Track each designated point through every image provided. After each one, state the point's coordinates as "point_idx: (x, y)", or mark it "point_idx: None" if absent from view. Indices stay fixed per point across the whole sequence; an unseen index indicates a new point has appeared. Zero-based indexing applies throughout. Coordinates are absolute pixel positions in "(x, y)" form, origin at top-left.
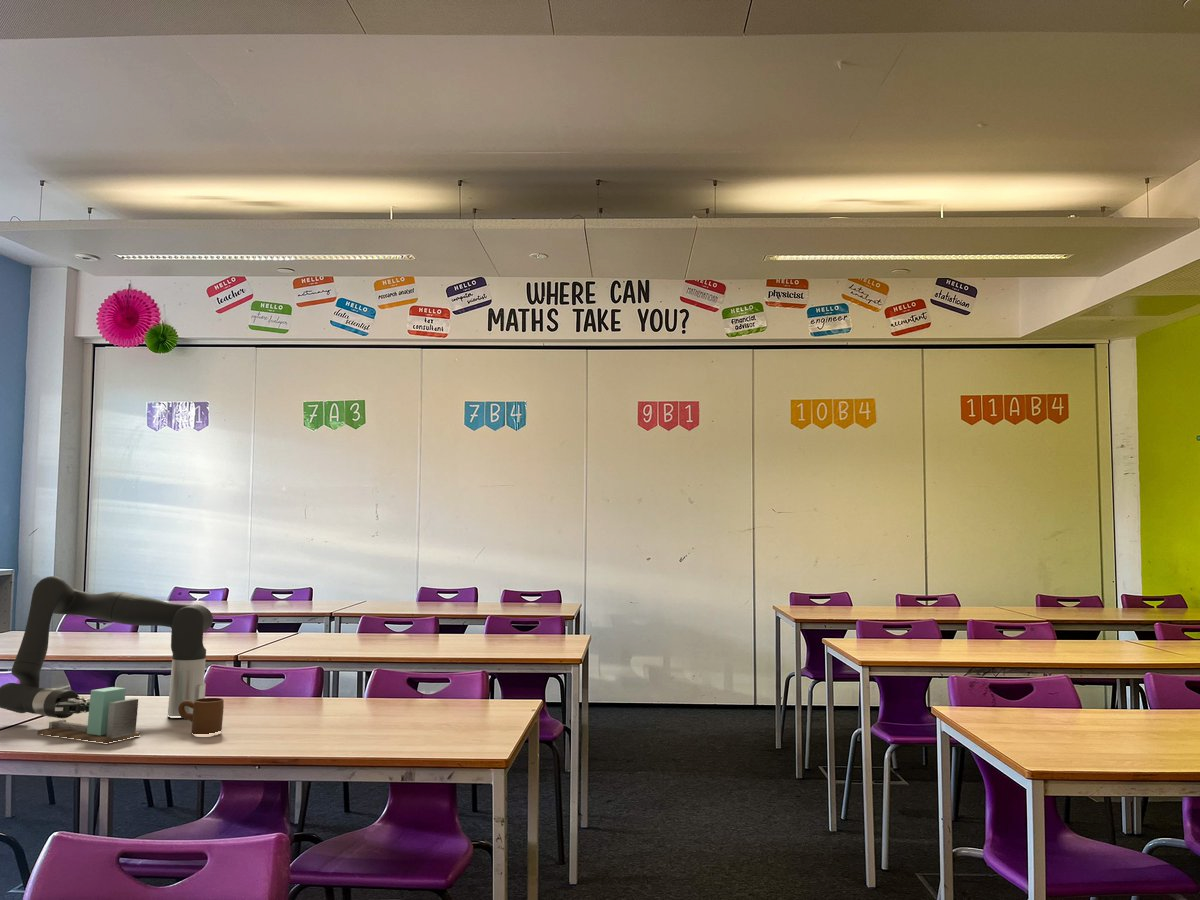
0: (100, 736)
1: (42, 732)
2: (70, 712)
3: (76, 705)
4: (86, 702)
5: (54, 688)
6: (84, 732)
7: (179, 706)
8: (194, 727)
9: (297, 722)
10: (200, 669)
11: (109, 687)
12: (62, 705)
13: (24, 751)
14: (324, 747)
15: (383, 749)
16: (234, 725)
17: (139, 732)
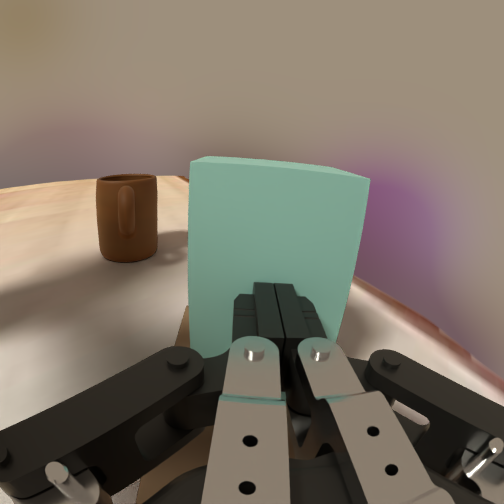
0: None
1: None
2: (412, 427)
3: (403, 365)
4: (324, 342)
5: None
6: (291, 453)
7: (133, 204)
8: (154, 234)
9: (33, 224)
10: None
11: (219, 163)
12: (496, 411)
13: (497, 392)
14: (173, 196)
15: (168, 187)
16: (38, 253)
17: (187, 306)
